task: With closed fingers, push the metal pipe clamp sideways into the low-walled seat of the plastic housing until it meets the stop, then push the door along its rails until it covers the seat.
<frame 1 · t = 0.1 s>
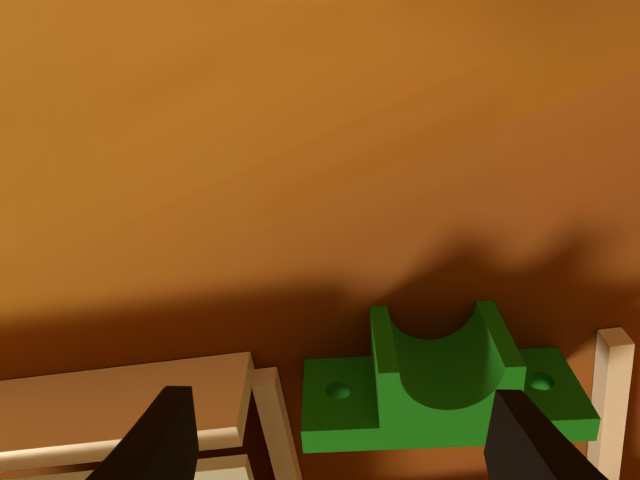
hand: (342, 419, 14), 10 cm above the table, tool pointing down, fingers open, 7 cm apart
housing: (441, 448, 28), on the table
pipe clamp: (431, 337, 25), on the table
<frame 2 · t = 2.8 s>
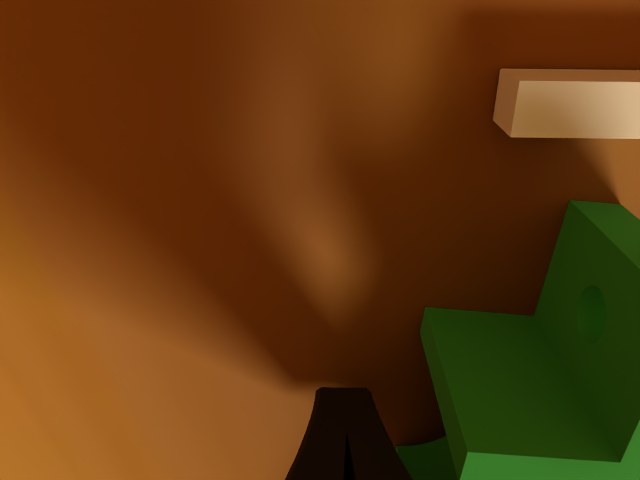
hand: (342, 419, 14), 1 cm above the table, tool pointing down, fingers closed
pipe clamp: (481, 387, 15), on the table, touching gripper
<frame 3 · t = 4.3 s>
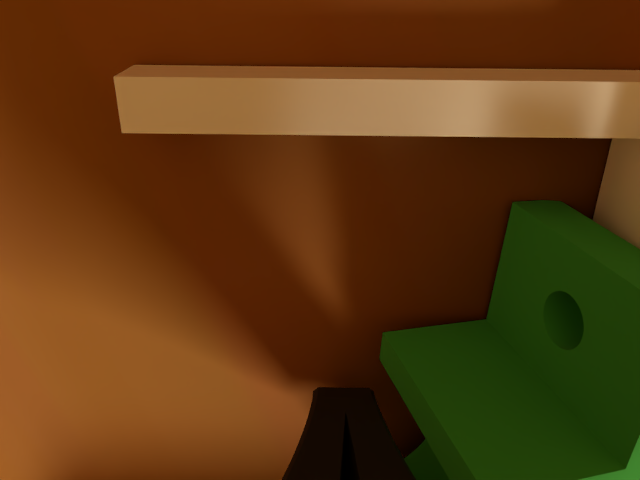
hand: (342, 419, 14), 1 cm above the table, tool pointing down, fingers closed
housing: (412, 391, 15), on the table
pipe clamp: (441, 399, 14), on the table
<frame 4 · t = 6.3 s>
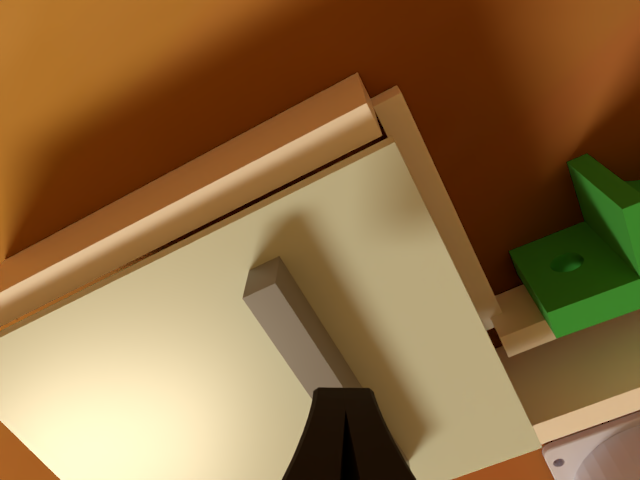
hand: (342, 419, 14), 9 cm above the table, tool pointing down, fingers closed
door: (252, 418, 18), point 6 cm above the table, slide at 15.5 cm
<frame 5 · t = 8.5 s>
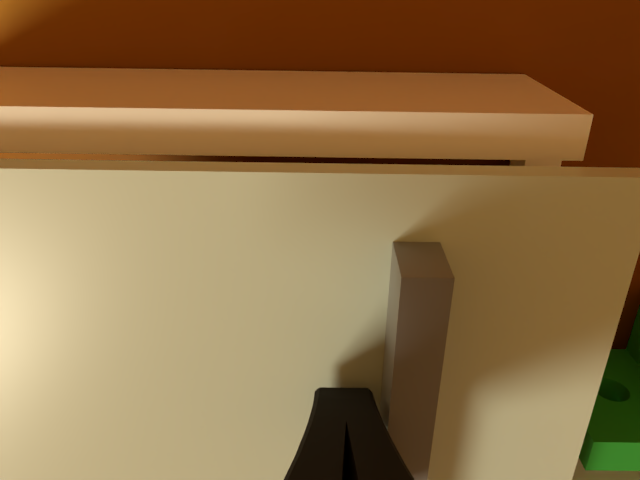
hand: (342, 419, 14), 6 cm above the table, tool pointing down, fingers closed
door: (276, 416, 14), point 6 cm above the table, slide at 14.6 cm, touching gripper
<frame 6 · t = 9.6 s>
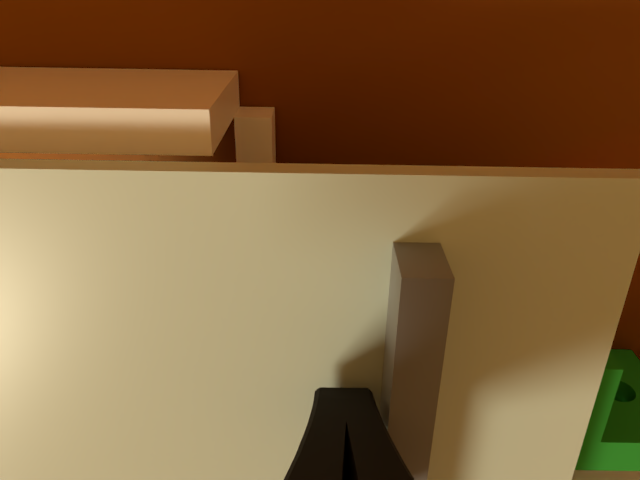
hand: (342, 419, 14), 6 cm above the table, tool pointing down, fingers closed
housing: (489, 290, 19), on the table
door: (276, 417, 14), point 6 cm above the table, slide at 6.6 cm, touching gripper
pipe clamp: (475, 327, 20), on the table
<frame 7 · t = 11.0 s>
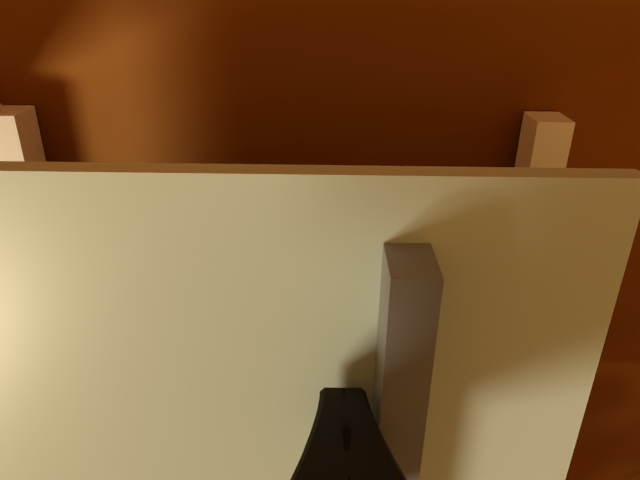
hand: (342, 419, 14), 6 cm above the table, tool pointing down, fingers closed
housing: (282, 288, 19), on the table
door: (269, 417, 14), point 6 cm above the table, slide at -0.1 cm, touching gripper
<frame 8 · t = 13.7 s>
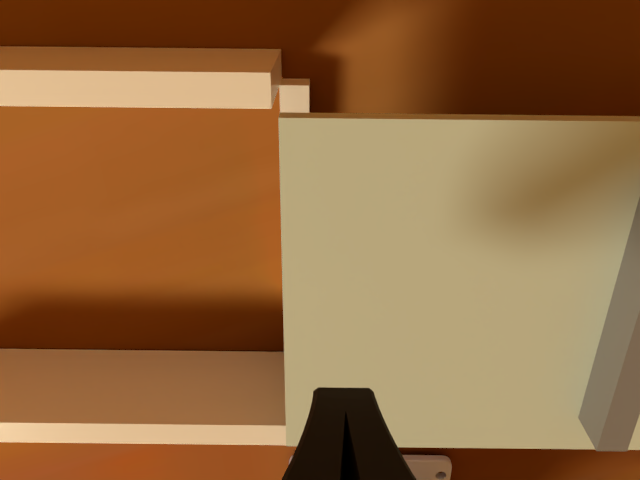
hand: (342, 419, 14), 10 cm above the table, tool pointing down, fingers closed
housing: (484, 233, 23), on the table
door: (533, 317, 18), point 6 cm above the table, slide at 0.0 cm
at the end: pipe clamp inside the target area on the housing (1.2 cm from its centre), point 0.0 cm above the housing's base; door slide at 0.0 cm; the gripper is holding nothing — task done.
